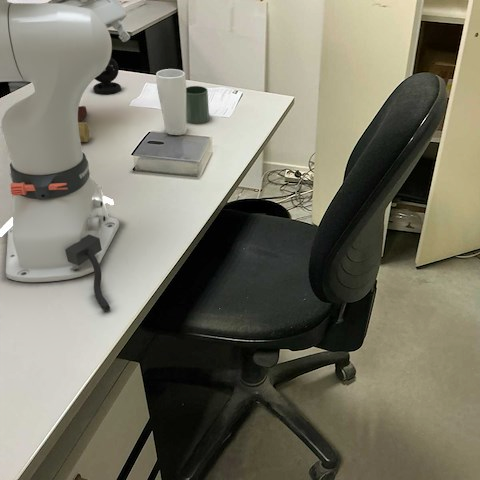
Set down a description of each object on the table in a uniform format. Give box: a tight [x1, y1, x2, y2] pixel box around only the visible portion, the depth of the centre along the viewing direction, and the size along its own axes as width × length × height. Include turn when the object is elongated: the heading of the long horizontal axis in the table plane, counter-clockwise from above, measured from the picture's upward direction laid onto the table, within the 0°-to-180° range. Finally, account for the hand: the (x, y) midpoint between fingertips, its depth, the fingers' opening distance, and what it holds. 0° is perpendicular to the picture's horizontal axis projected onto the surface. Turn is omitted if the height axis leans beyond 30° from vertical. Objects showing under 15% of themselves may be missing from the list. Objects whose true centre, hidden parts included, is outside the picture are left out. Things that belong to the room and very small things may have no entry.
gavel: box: [78, 105, 91, 143], centre depth 137 cm, size 21×5×10 cm
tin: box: [186, 85, 210, 125], centre depth 144 cm, size 6×6×8 cm
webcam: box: [92, 56, 122, 95], centre depth 157 cm, size 8×8×10 cm
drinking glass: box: [155, 68, 188, 136], centre depth 134 cm, size 7×7×15 cm
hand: (117, 44), depth 129 cm, fingers open, 8 cm apart
